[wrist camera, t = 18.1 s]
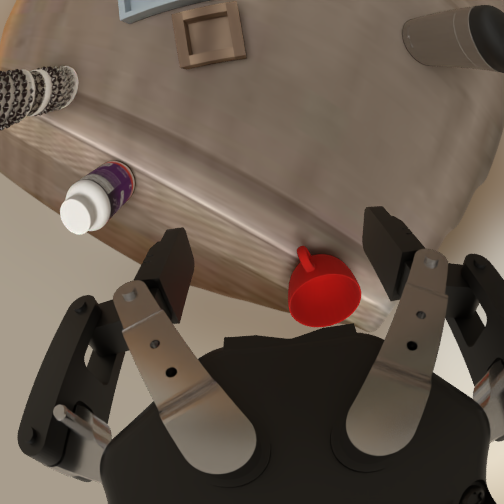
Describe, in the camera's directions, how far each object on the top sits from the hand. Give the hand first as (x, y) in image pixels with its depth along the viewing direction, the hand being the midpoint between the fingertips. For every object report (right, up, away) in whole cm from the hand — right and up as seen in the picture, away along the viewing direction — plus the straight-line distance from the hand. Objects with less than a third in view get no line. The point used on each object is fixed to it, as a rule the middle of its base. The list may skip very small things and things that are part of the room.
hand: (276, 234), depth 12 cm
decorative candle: (-35, +29, +20) cm, 49 cm away
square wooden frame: (-7, +31, +18) cm, 36 cm away
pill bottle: (-25, +12, +31) cm, 42 cm away
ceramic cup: (+11, -2, +41) cm, 42 cm away
